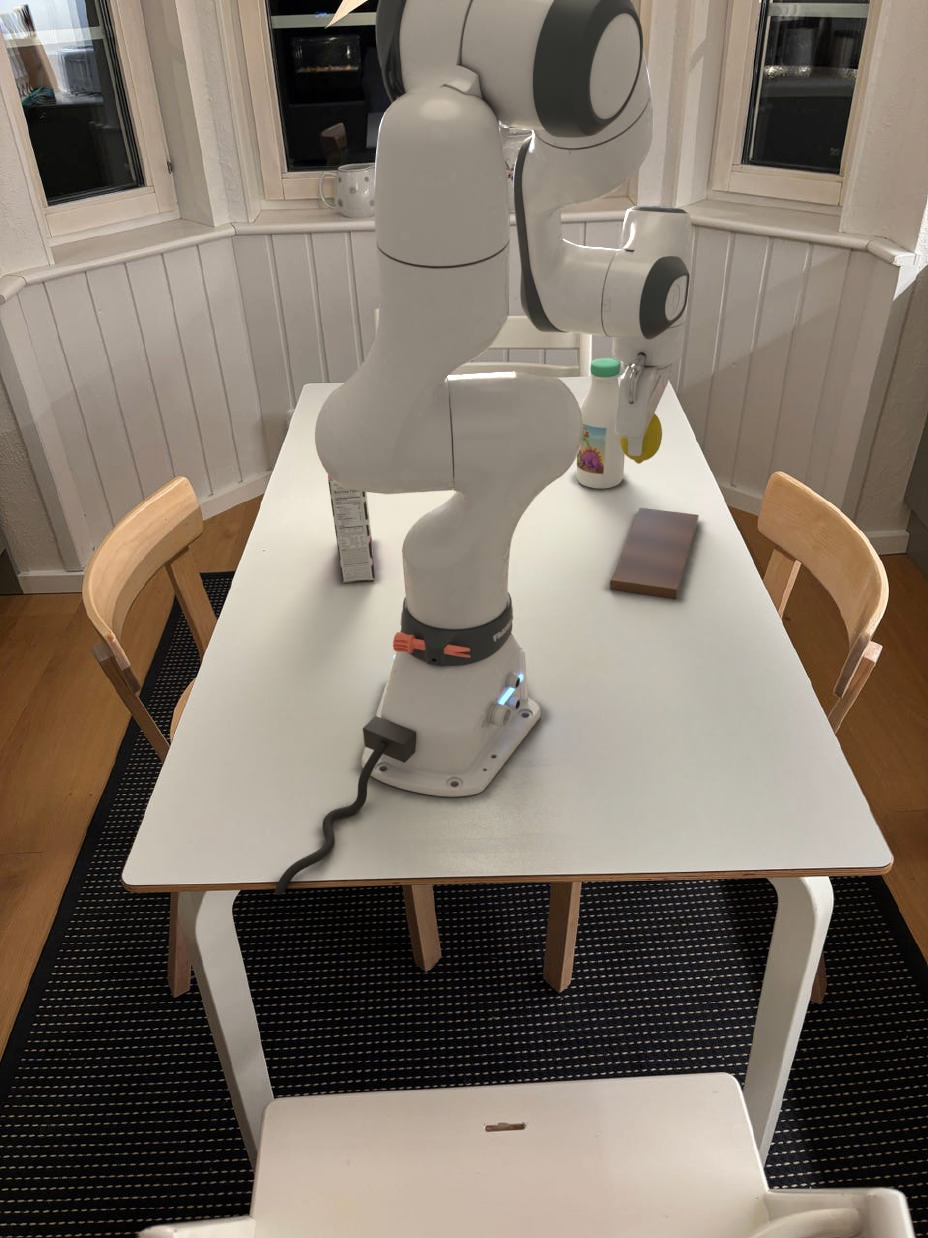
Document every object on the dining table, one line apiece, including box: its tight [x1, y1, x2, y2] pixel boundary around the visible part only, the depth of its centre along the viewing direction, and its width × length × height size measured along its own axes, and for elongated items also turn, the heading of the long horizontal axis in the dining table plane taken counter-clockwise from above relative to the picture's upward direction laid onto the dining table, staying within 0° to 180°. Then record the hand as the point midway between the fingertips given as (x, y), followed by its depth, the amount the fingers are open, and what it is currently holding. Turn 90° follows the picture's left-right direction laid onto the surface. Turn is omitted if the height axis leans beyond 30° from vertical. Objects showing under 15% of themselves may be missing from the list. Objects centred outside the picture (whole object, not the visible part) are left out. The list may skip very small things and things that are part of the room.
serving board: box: [609, 507, 699, 600], centre depth 137 cm, size 22×9×2 cm, turn 161°
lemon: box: [620, 412, 663, 464], centre depth 127 cm, size 6×6×8 cm
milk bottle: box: [575, 357, 626, 489], centre depth 153 cm, size 8×8×20 cm
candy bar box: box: [327, 474, 376, 584], centre depth 134 cm, size 11×5×16 cm, turn 7°
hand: (640, 443), depth 128 cm, fingers closed on lemon, 5 cm apart
